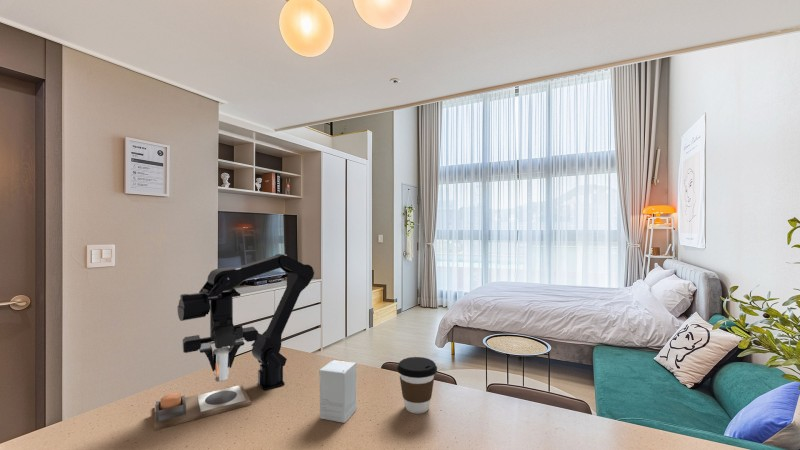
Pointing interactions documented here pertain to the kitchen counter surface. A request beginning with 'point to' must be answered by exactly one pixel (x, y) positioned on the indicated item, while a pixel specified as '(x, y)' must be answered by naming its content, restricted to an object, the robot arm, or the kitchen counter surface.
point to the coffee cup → (417, 382)
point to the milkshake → (221, 363)
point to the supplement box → (338, 391)
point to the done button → (170, 401)
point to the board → (201, 406)
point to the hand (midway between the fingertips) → (221, 369)
